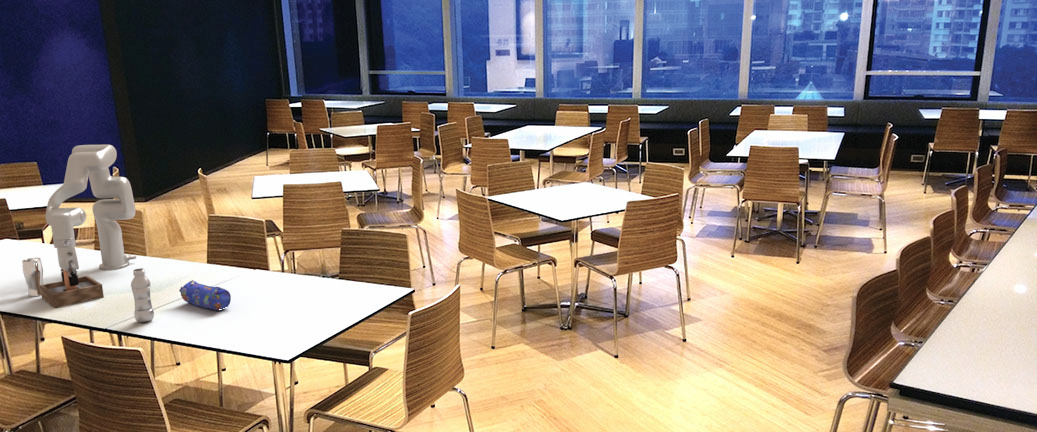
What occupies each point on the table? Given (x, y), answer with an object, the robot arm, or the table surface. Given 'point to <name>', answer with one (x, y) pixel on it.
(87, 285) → the bore box
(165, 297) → the table surface
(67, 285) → the peg
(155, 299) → the table surface
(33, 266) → the beer glass
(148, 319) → the plastic bottle
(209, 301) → the pencil case
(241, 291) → the table surface
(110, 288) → the table surface
